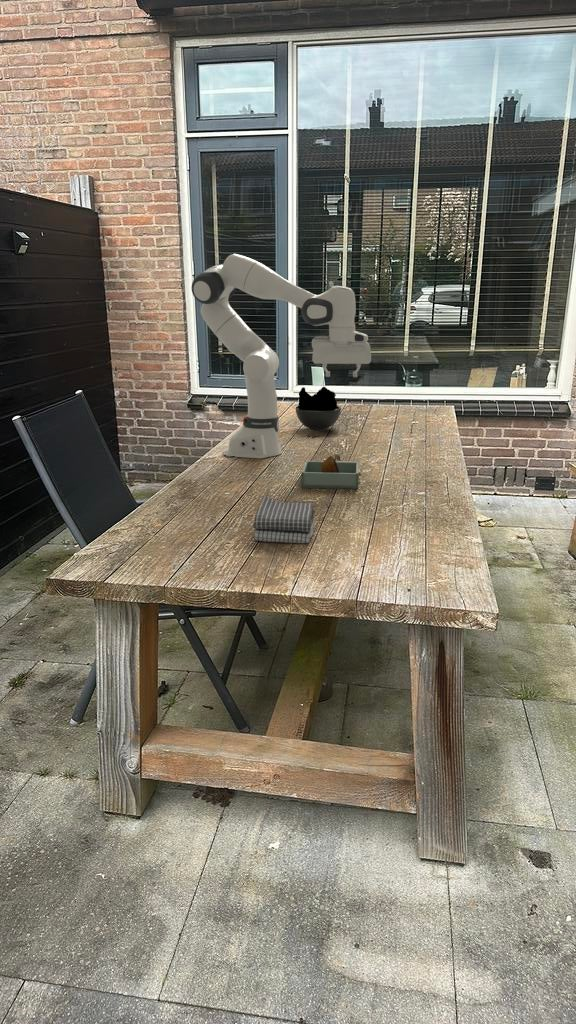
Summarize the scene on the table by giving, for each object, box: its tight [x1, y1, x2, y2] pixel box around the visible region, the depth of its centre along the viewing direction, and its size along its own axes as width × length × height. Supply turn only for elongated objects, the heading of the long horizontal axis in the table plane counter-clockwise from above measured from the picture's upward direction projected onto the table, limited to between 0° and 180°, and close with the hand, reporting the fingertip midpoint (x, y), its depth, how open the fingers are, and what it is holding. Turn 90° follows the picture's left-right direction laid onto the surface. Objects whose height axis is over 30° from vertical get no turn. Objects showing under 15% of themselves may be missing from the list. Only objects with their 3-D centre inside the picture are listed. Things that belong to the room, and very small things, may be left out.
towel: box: [253, 495, 316, 544], centre depth 180 cm, size 15×18×8 cm
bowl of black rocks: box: [295, 386, 342, 431], centre depth 302 cm, size 20×20×19 cm
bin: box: [301, 460, 360, 490], centre depth 225 cm, size 18×15×5 cm
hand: (341, 376), depth 238 cm, fingers open, 8 cm apart
